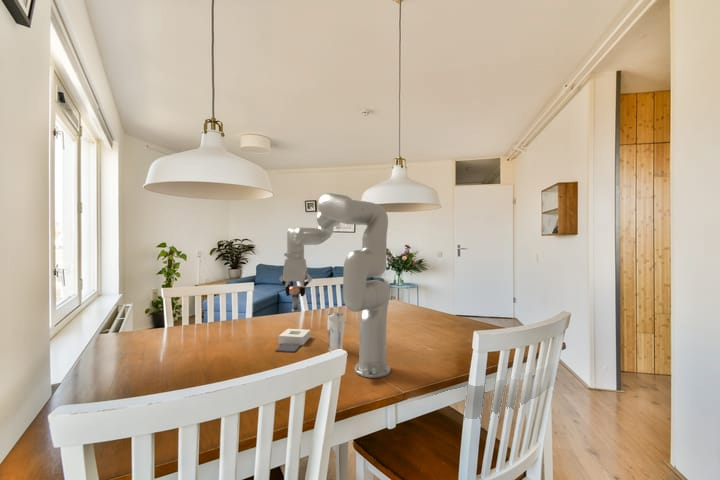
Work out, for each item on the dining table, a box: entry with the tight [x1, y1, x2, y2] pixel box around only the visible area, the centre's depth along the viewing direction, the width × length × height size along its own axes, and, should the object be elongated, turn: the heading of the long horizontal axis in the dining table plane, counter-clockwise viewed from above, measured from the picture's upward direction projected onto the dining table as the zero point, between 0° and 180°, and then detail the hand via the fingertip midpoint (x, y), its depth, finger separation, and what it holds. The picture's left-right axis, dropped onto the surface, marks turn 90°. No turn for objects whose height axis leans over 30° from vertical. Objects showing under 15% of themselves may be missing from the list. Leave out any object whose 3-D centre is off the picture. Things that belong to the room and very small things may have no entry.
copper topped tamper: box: [289, 285, 302, 313], centre depth 141 cm, size 6×6×11 cm
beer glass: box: [326, 312, 345, 352], centre depth 129 cm, size 7×7×15 cm
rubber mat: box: [275, 344, 302, 354], centre depth 130 cm, size 8×8×1 cm
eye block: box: [277, 328, 311, 346], centre depth 141 cm, size 11×11×4 cm
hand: (295, 295), depth 141 cm, fingers closed on copper topped tamper, 6 cm apart
